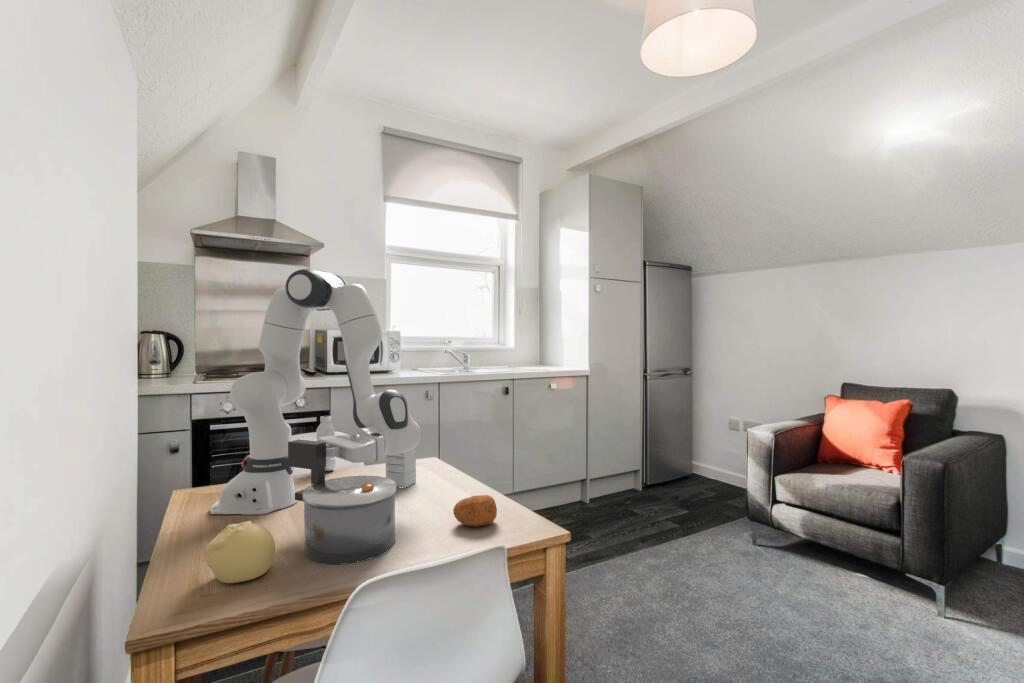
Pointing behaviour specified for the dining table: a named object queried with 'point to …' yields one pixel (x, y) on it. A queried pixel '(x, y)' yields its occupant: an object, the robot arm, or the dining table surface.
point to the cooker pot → (348, 531)
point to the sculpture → (240, 552)
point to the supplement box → (402, 468)
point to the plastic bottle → (324, 431)
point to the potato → (476, 510)
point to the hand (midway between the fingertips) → (315, 453)
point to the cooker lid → (335, 480)
